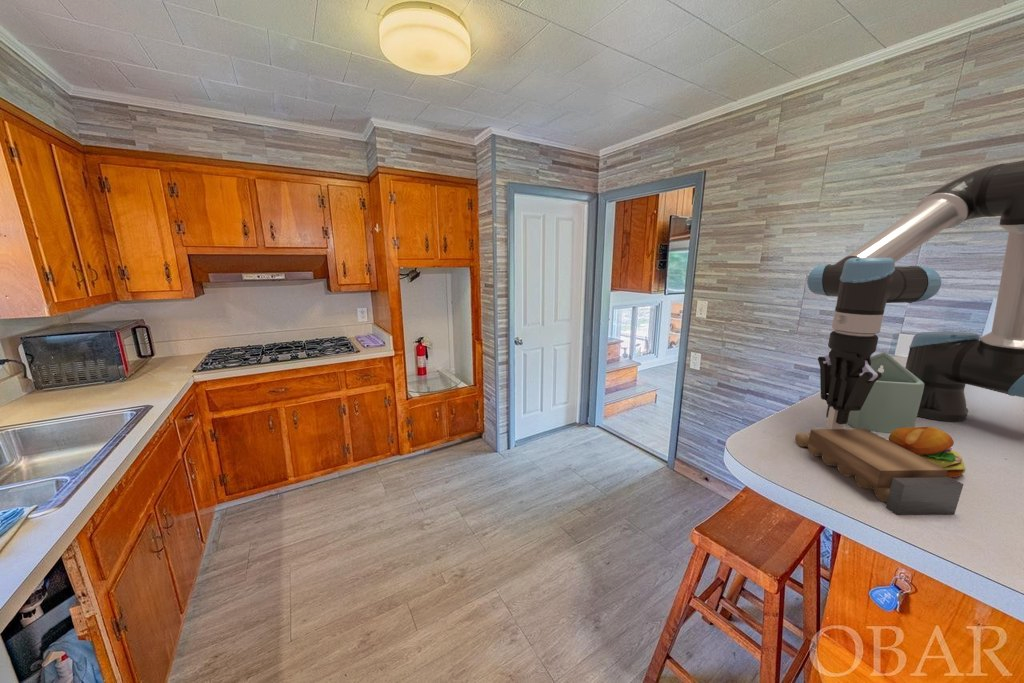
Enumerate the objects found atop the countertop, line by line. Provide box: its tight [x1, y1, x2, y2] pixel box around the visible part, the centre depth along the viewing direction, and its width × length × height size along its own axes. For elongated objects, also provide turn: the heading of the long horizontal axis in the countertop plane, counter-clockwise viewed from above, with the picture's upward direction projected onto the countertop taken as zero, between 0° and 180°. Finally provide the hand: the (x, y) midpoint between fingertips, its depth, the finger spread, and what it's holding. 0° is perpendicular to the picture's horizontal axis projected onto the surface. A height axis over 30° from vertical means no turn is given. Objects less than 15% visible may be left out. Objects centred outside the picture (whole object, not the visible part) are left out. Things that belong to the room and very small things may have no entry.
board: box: [808, 428, 948, 488], centre depth 74 cm, size 12×16×4 cm
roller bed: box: [794, 432, 890, 503], centre depth 77 cm, size 8×23×3 cm, turn 0°
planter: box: [847, 351, 924, 434], centre depth 95 cm, size 16×8×20 cm, turn 29°
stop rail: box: [885, 477, 964, 516], centre depth 64 cm, size 10×2×6 cm, turn 90°
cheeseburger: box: [888, 426, 967, 478], centre depth 77 cm, size 10×11×10 cm
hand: (833, 434), depth 82 cm, fingers closed
